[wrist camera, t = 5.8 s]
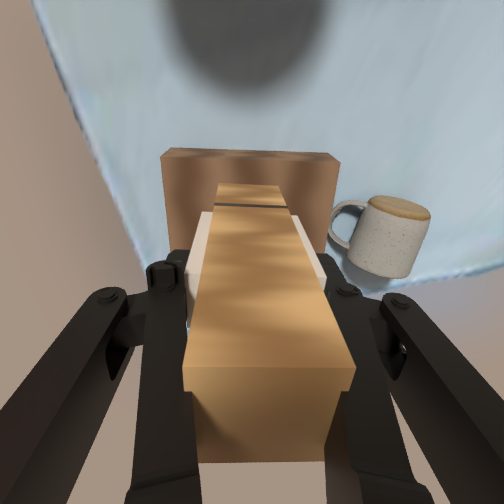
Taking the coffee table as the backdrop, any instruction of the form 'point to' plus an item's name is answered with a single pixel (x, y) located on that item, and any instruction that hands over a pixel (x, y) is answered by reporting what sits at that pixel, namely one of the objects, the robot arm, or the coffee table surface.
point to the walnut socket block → (247, 172)
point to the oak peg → (261, 338)
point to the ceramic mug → (385, 235)
